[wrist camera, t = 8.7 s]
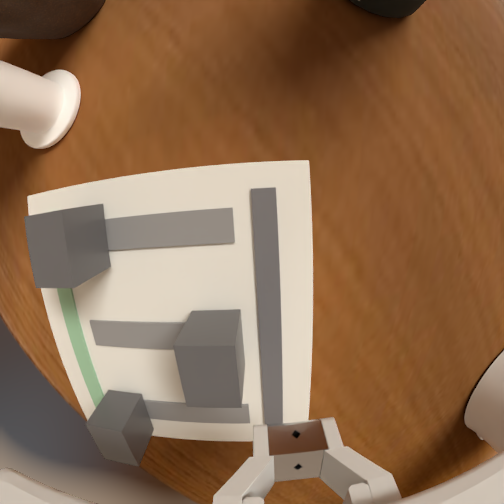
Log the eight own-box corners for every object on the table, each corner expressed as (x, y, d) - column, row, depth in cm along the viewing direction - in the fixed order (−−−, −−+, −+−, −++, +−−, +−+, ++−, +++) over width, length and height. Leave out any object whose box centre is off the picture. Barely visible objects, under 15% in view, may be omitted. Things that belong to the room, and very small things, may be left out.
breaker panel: (301, 164, 19) (309, 160, 16) (302, 415, 23) (307, 439, 20) (50, 194, 20) (25, 196, 17) (101, 406, 24) (88, 425, 21)
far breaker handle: (141, 393, 19) (121, 431, 15) (154, 429, 20) (138, 466, 16) (108, 389, 19) (85, 424, 15) (122, 424, 20) (104, 459, 16)
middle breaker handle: (240, 309, 18) (234, 345, 13) (245, 364, 18) (241, 407, 14) (191, 310, 18) (173, 345, 13) (200, 364, 19) (186, 406, 14)
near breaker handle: (103, 203, 16) (61, 209, 12) (111, 266, 17) (74, 288, 13) (67, 209, 17) (24, 216, 12) (75, 268, 17) (36, 287, 13)
